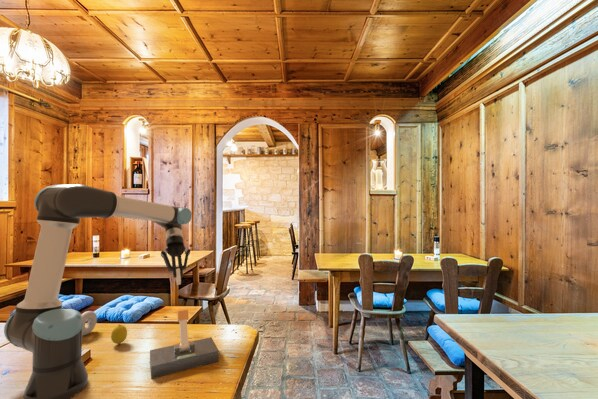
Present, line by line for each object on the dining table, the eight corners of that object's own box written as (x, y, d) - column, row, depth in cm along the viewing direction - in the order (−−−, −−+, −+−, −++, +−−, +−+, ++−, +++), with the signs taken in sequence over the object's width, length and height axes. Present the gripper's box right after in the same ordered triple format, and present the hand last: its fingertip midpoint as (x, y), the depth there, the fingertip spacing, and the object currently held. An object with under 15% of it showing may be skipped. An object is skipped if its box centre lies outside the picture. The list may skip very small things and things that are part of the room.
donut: (80, 340, 122) (80, 316, 122) (72, 339, 122) (73, 315, 122) (98, 329, 132) (99, 307, 132) (91, 329, 132) (92, 307, 132)
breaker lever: (179, 350, 104) (177, 311, 110) (178, 351, 106) (177, 312, 112) (190, 348, 106) (187, 309, 112) (189, 349, 108) (186, 311, 114)
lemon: (130, 341, 121) (130, 322, 121) (120, 348, 116) (120, 327, 116) (117, 340, 122) (117, 321, 122) (107, 347, 116) (107, 327, 116)
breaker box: (151, 378, 96) (151, 360, 96) (149, 361, 106) (150, 344, 106) (218, 361, 107) (218, 345, 107) (211, 347, 117) (211, 332, 117)
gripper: (188, 243, 145) (193, 285, 130) (159, 245, 138) (161, 290, 124) (190, 234, 140) (195, 276, 125) (160, 235, 134) (162, 280, 119)
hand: (178, 283), depth 125 cm, fingers closed
